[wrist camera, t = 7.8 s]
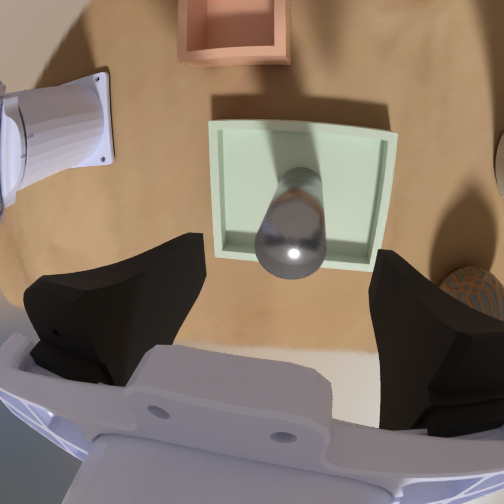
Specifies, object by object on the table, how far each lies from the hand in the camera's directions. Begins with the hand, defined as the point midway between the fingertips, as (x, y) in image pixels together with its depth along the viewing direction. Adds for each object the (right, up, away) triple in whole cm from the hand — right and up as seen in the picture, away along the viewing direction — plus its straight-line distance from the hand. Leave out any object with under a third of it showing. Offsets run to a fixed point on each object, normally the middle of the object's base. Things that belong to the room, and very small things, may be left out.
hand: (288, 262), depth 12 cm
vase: (+17, -3, +10) cm, 20 cm away
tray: (+2, +5, +9) cm, 10 cm away
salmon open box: (-2, +16, +4) cm, 16 cm away
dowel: (+2, +5, +8) cm, 10 cm away
